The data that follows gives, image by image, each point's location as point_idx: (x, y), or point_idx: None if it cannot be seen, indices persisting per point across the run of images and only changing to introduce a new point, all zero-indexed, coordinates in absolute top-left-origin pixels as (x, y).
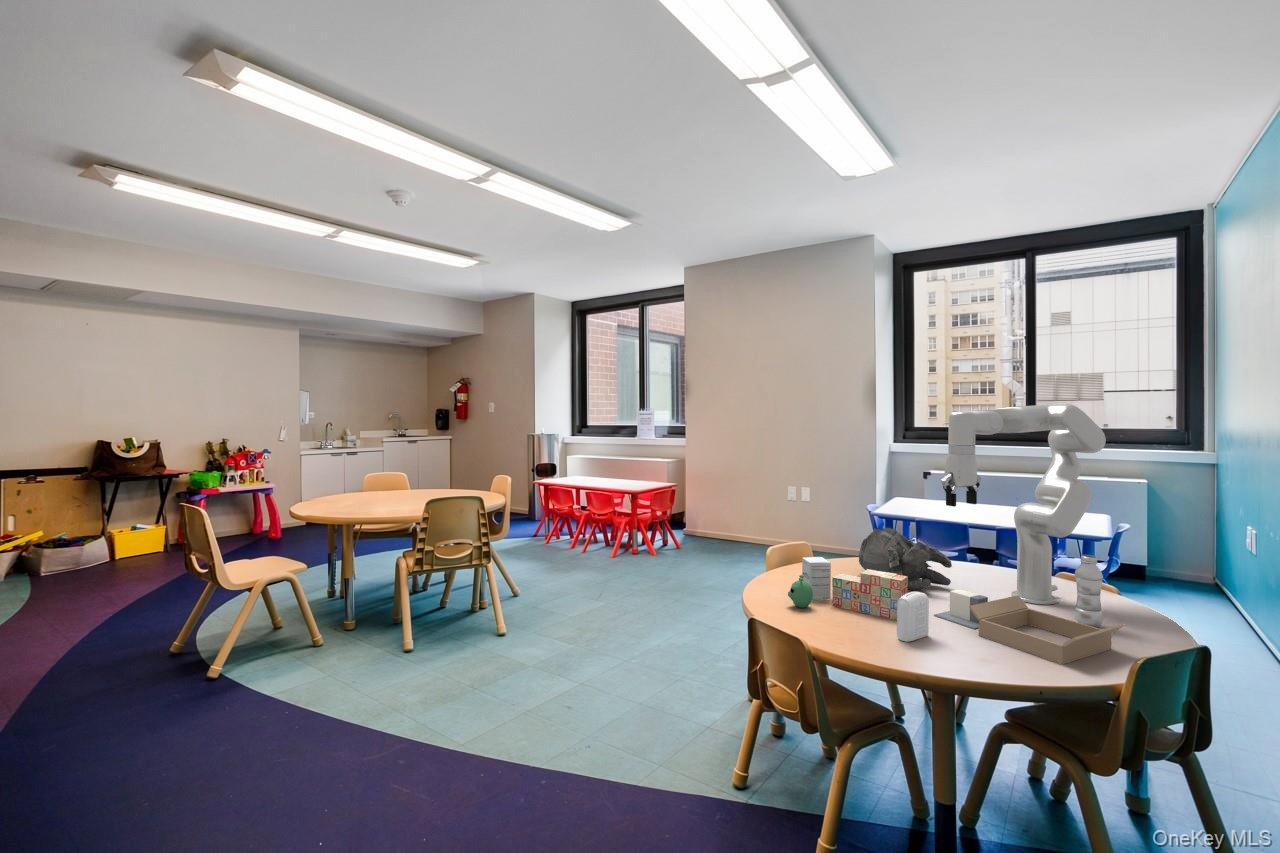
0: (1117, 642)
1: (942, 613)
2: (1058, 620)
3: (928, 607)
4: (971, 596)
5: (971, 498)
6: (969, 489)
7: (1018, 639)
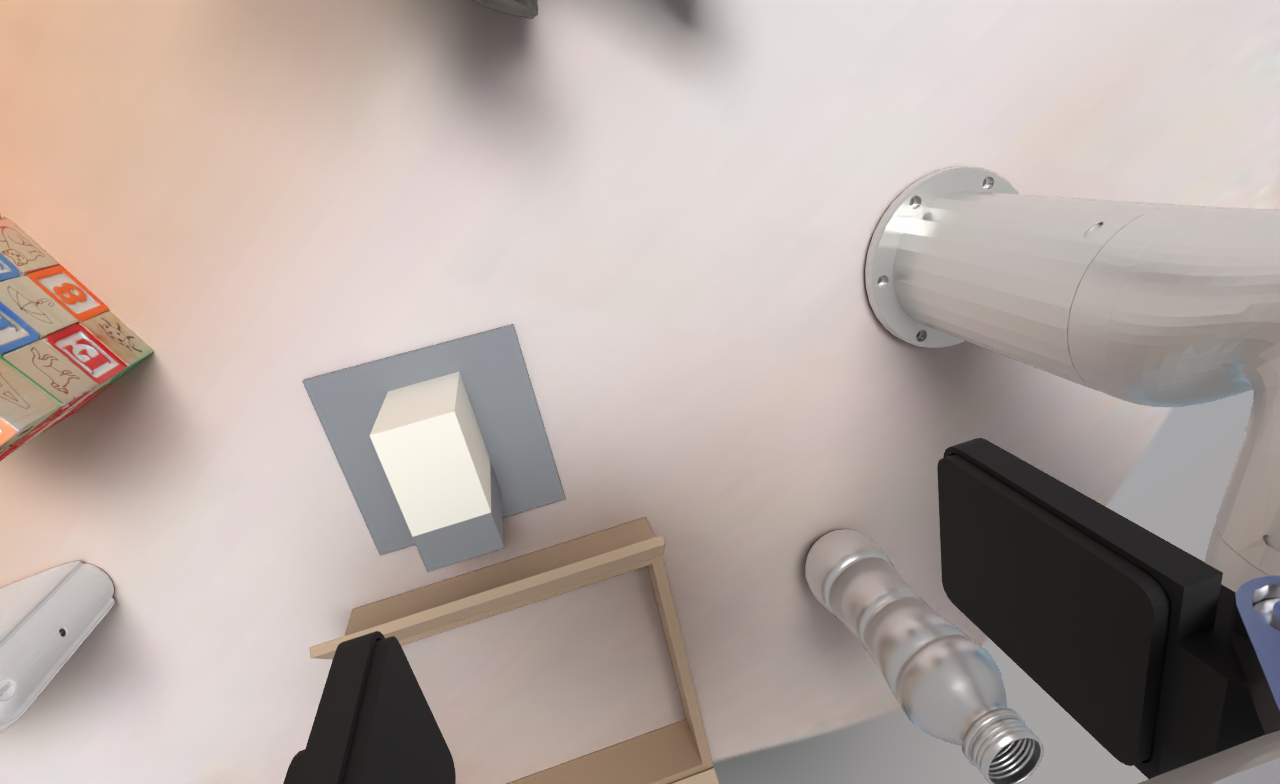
0: (765, 680)
1: (357, 376)
2: (672, 647)
3: (39, 693)
4: (427, 529)
5: (1013, 597)
6: (1220, 699)
7: None
